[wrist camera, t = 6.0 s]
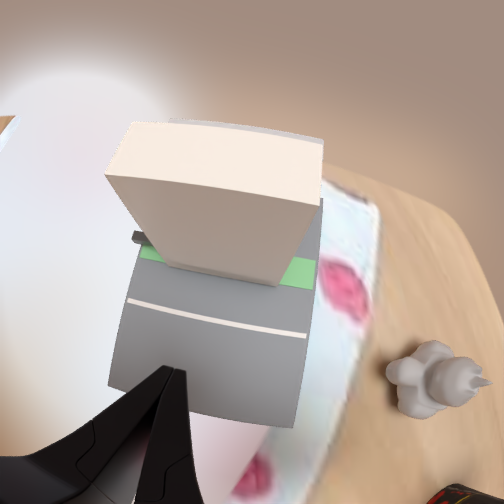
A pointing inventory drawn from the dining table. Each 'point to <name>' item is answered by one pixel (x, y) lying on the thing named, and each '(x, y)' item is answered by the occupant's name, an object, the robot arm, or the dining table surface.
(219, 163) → the cream upright slab
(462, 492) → the deodorant
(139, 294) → the base
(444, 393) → the grey lumpy figurine
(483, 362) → the dining table surface
